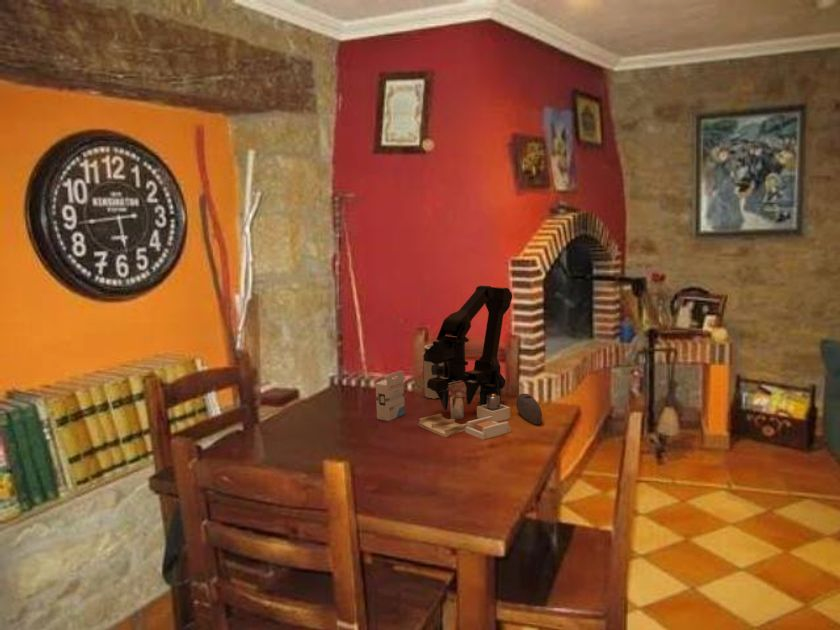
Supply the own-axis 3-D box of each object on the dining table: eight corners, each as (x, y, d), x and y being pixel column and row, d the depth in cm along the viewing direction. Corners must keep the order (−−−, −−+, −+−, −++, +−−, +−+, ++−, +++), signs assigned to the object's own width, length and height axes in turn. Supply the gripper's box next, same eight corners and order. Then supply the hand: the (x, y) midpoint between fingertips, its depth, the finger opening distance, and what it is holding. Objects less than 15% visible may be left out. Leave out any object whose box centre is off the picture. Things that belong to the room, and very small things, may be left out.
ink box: (393, 412, 212) (391, 367, 210) (405, 414, 209) (403, 369, 207) (376, 419, 205) (374, 373, 203) (388, 421, 202) (386, 375, 200)
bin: (494, 414, 206) (494, 402, 205) (510, 420, 200) (510, 407, 200) (477, 419, 202) (476, 406, 201) (492, 424, 196) (492, 411, 196)
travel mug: (420, 397, 228) (419, 347, 225) (431, 392, 235) (429, 343, 232) (441, 400, 224) (440, 349, 221) (451, 394, 231) (449, 344, 228)
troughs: (442, 420, 202) (441, 413, 202) (469, 431, 191) (469, 423, 191) (418, 425, 197) (418, 418, 197) (445, 437, 186) (444, 430, 186)
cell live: (458, 415, 206) (457, 392, 205) (466, 418, 203) (465, 395, 202) (448, 418, 204) (447, 394, 203) (456, 421, 200) (455, 397, 199)
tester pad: (488, 428, 191) (488, 420, 191) (499, 432, 187) (499, 424, 187) (475, 431, 189) (475, 424, 188) (486, 435, 185) (486, 428, 184)
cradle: (491, 426, 194) (491, 415, 194) (510, 433, 188) (509, 422, 187) (465, 433, 189) (465, 422, 188) (483, 441, 182) (483, 429, 182)
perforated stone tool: (547, 427, 192) (547, 405, 191) (530, 429, 191) (529, 406, 190) (531, 413, 207) (531, 391, 206) (515, 414, 206) (514, 393, 205)
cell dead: (494, 415, 204) (493, 391, 203) (502, 418, 200) (502, 394, 199) (484, 417, 202) (483, 393, 200) (492, 420, 198) (492, 396, 197)
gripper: (463, 349, 212) (464, 396, 214) (416, 358, 202) (417, 407, 204) (485, 355, 203) (486, 403, 205) (437, 364, 193) (438, 415, 195)
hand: (457, 407), depth 203 cm, fingers open, 9 cm apart
